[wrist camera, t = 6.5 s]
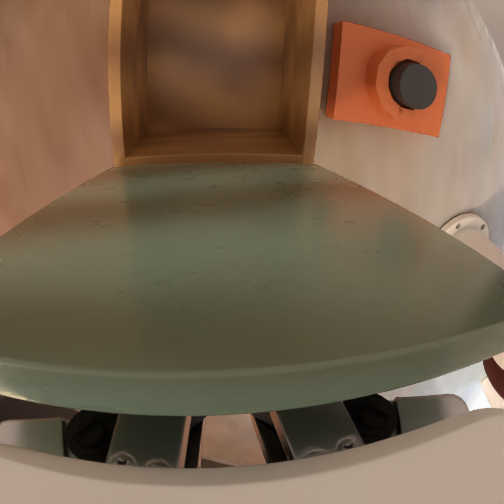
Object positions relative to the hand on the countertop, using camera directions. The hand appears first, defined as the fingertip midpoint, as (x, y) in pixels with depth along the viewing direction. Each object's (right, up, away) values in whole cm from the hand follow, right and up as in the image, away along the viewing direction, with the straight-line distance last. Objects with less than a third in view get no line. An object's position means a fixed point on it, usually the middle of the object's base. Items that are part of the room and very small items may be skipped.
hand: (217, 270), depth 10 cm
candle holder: (+79, -40, +62) cm, 108 cm away
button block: (+14, +17, +14) cm, 26 cm away
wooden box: (-2, +17, +11) cm, 21 cm away
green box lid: (0, +3, 0) cm, 3 cm away
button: (+14, +15, +11) cm, 23 cm away
